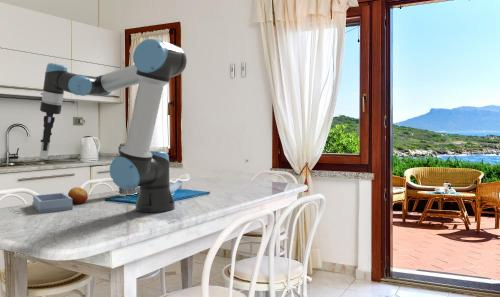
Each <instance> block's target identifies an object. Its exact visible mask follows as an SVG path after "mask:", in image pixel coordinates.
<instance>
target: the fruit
mask: <svg viewBox="0 0 500 297" xmlns="http://www.w3.org/2000/svg"><path fill="white" fill-rule="evenodd" d="M67 195H68V196H69V197H71V198H72V204H73V205H80V204H83V203H85V202H86V201H87V200H88V198H89V196H88V192H87V190H85V189H84V188H82V187H77V186H76V187H72V188H71V189H69V191H68V193H67Z"/></svg>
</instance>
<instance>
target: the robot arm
mask: <svg viewBox="0 0 500 297" xmlns="http://www.w3.org/2000/svg"><path fill="white" fill-rule="evenodd" d="M132 62H133V63H134V64H132V65H129V66H126V67H123V68H120V69H116V70H114V71H110V72H107V73H104V74H101V75H97V76H94V75H93V76H92V75H91V76H90V75H85V74H75V73H72V72H69V71H68V67H67V65H63V64H58V63H54V62H49V63H48V64H47V65H46V69H45V72H44V82H43V89H42V92H40V95H41V96H42V97H41V100H42V101H41V102H40V107H39V110H40V112H42V113H45V115H44V116H43V132H42V133H43V134H42V138H41V139H40V143H41V146H40V153H39V158H40V159H44V160H45V159H46V160H47V159H48V156H49V149H50V143H51V136H52V135H53V133H52V129H53V127H54V123H55V120H56V119H55V118H56V117H55V116H54V115H60V114H61V112H62V104H63V99H64V93H65V92H67V93H70V94H73V95H75V96H82V97H85V96H87V95H88V96H98V97H106V96H109V95H110V94H112V92H115V91H118V90H121V89H122V90H123V89H126V88H130V87H133V86H135V85H138V86H137V89H136V96H135V99H134V102H133V104H134V105H133V109H132V113H131V119H130V123H129V129H128V134H127V137H126V140H125V141H126V142H125V143H126V145H125V146H123V147H122V148H121V149H120V153H119V152H118V153H119V157H118V156H117V157H116V158H114V159H113V160H112V161H111V162H110V165H109V175H110V178H111V179H112V182H113V183H114V185H116V186H117V187H118V188H119V187H120V188H123V189H129V188H130V189H132V188H135V187H137V188H138V187H139V192H138V194H137V195H138V196H137V200H136V203H135V211H136V212H138V213H139V212H140V213H162V212H168V211H169V212H170V211H172V210H174V209H175V208H176V206H175V200H174V197H173V194H172V192H171V188H170V185H171V184H170V182H171V181H170V158H169V157H170V155H169V154H168V153H167V152H166V151H159V150H157V151H156V150H150V148H151V146H152V139H153V135H154V131H155V127H156V122H157V117H158V113H159V109H160V103H161V99H162V94H163V90H164V86H166V85H167V84H169V83H170V79H171V78H174V77H176V76H179V75H181V74H182V73H183V72H184V70H185V69H186V66H187V62H188V60H187V55H186V53H185V51H184V50H183V49H182V48H181V47H180V46H178V45H176V44H173V43H169V42H167V41H163V40H160V39H156V38H155V39H154V38H147V39H146V38H145V39H144V40H142V41H141V42H139V43H138V44H137V45H136V47H135V48H134V51H133V54H132Z"/></svg>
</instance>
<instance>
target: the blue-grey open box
mask: <svg viewBox="0 0 500 297" xmlns="http://www.w3.org/2000/svg"><path fill="white" fill-rule="evenodd" d="M32 198H33V199H32V200H33V201H32V206H33V207H34V208H35V209H36V211H38V213H39V214H45V212H46V213H53V212H54V211H55V212H63V211H70V210H72V211H73V208H74V206H73V205H74V203H72V198H71V197H69V196H68V194H66V193H64V192H58V193H57V192H56V193H46V194H36V195H32ZM62 210H63V211H62Z"/></svg>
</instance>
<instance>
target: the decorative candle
mask: <svg viewBox="0 0 500 297" xmlns="http://www.w3.org/2000/svg"><path fill="white" fill-rule="evenodd" d="M125 145H126V142H123V143H120V144H119V146H118V153H117V155H116V156H117V157H119V153H120V149H121V148H122V147H123V146H125ZM118 190H119V191H118V194H119V195H118V196H120V197H127V196H126V195H134V194H137V195H138V193H137V192H138V190H137V189H136V190H137V191H136V190H135V188H132V189H130V188H129V189H123V188H120V187H118ZM134 196H135V195H134Z"/></svg>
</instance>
